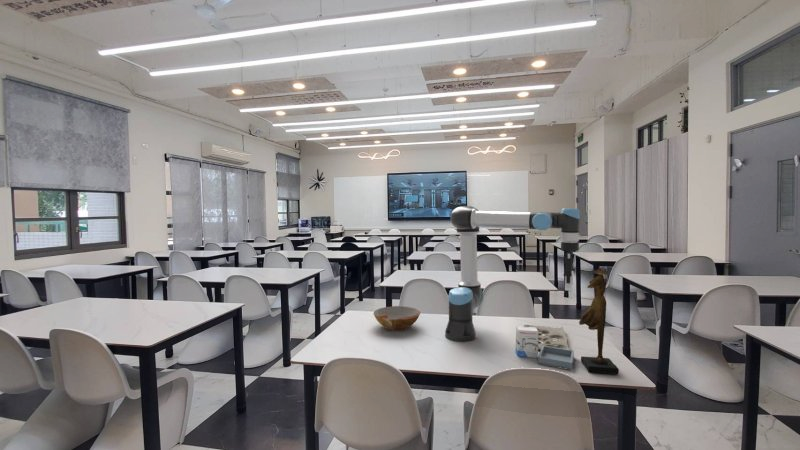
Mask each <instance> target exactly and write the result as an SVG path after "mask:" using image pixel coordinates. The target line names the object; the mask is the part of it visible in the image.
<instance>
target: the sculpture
mask: <svg viewBox="0 0 800 450" xmlns="http://www.w3.org/2000/svg"><path fill="white" fill-rule="evenodd" d="M591 273H592V274H597V276H596V277H595V278H593V279H591V280H589V284H588V285H587V289H593V288H594V294H595V297H594V299H592V301H591V304H590V306H589V308H588V309H587V310H586V311H585V312H584V313H583V314H582V316H581V318H580V319H579V321H578V324H579V325H580V326H582V325H586V326H587V327H588V330H592V331H595V330H596V331H597V332H596V334H597V335H596V336H597V337H596V338H597V339H596V340H597V356H583V355H582V356H580V362H581V363H582V365H583V366H584V368H585V369H586V371H587V372H588V373H597V374H607V375H608V374H609V375H619V374H620V373H619V372H620V370H619V367H618V366H617V365H616V364H615V363H614V362H613V360H611V359H610V358H608V357H604V356H603V350H604V349H603V347H604V337H605V328H606V317H607V315H606V313H607V298H606V296H605V292H606V288H607V282H608V281H607V280H606V279H605V277H604V275H609V274H610V273H611V272H610V271H608V270H605V269H603V268H602V267H601V268H600V267H599V268H597V269H596V270H594V269H592V270H591Z"/></svg>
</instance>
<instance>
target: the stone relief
mask: <svg viewBox="0 0 800 450" xmlns="http://www.w3.org/2000/svg"><path fill="white" fill-rule="evenodd" d="M523 327H535V328H536V329H537V330H538V351H539V350H540V351H541V348H542V345H543V346H549V347H555V348H562V349H568V350H571V349H570V348H569V345H568V338H567V335H566V333H565V329H564V328H563V326H561V327H550V326H543V325H542V326H540V325H533V324H524V325H523Z"/></svg>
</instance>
